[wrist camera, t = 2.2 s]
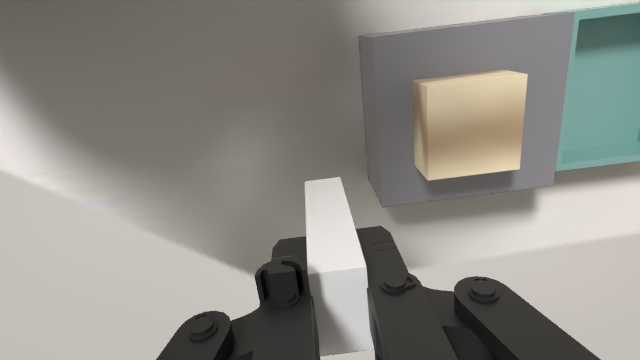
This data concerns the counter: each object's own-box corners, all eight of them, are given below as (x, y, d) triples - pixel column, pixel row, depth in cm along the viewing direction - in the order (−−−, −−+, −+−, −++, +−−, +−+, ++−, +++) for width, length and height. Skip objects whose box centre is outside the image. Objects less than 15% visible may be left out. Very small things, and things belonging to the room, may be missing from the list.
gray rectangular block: (358, 36, 30) (372, 36, 24) (522, 16, 30) (575, 12, 24) (368, 178, 34) (382, 207, 28) (511, 160, 34) (553, 185, 28)
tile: (412, 80, 25) (427, 86, 22) (502, 69, 25) (527, 74, 22) (414, 165, 27) (427, 180, 24) (496, 155, 27) (519, 169, 25)
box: (541, 13, 30) (571, 11, 26) (667, -2, 30) (712, -6, 27) (528, 158, 34) (552, 171, 31) (637, 144, 34) (673, 156, 31)
